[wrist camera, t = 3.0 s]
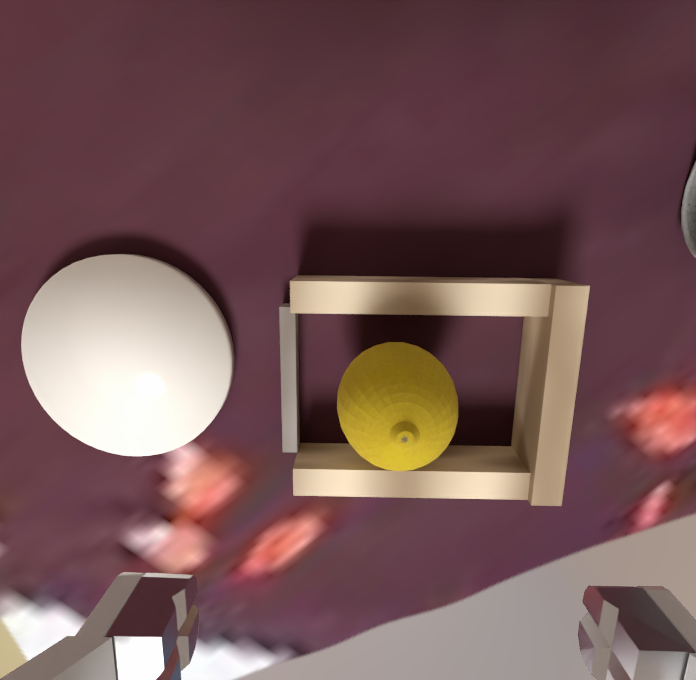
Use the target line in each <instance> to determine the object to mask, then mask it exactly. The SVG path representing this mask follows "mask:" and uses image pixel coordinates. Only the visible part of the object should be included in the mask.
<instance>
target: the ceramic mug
mask: <svg viewBox="0 0 696 680" xmlns="http://www.w3.org/2000/svg"><path fill="white" fill-rule="evenodd" d="M681 228H682V232H683V235H684V239H685V243H686V245H687V247H688V249H689V250H690V252H691V254H692V255H693V256H694V257H695V258H696V161H695V163H694V166H693V168H692V170H691V172H690V175H689V178H688V181H687V184H686V187H685V191H684V195H683V200H682V207H681Z"/></svg>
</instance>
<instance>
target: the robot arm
mask: <svg viewBox="0 0 696 680" xmlns="http://www.w3.org/2000/svg"><path fill="white" fill-rule="evenodd" d="M197 592H198V591H197V580H196V577H195V576H194V575H180V574H161V573H133V572H123V573H121V574H119V575H118V576H117V577H116V578H115V580H114V581H113V582H112V584H111V585H110V587H109V588H108V590H107V591H106V592H105V594H104V595H103V597H102V598H101V600H100V601H99V602H98V604H97V605H96V607H95V608H94V610H93V611H92V613H91V614H90V615H89V617H88V618H87V620H86V621H85V623H84V624H83V625H82V627H81V628H80V630H79V631H78V633H77V634H76V635H75V636H67V637H65V638H64V639H62V640H61V641H59V642H57V643H56V644H54V645H53V646H51V647H50V648H48V649H47V650H45V651H43V652H42V653H40V654H39V655H37V656H36V657H34V658H32V659H31V660H29V661H28V662H26V663H25V664H23V665H21V666H20V667H18V668H17V669H15V670H14V671H12V672H10V673H9V674H7V675H6V676H4V677H3V678H1V679H0V680H181V670H183V669H184V668H185V667H186V666H187V665H188V664H190V661H191V658H192V656H193V653H194V650H195V646H196V641H197V636H198V629H199V610H198V609H197V608H196V606H195V605H194V604H193V601H194V599H195V597H196V594H197ZM583 604H584V605H585V607H586V609H587V610H588V613H587V614H586V615H585V616H584V617H583V618H582V619H581V620H580V622H579V631H578V637H579V645H580V651H581V654H582V656H583V659H584V662H585V664H586V666H587V668H588V670H589V672H590V674H591V675H592V676H594V677H595V678H596V679H597V680H696V620H695V619H694V617H693V616H692V615H691V614H690V613H689V612H688V611H687V610H686V609H685V607H684V606H683V605H682V604H681V603H680V602H679V601H678V600H677V598H676V597H675V596H674V595H673V594H672V593H671V592H670V591H669V590H668V589H666V588H664V587H662V586H637V587H621V586H588V587H587V589H586V590H585V592H584V597H583Z"/></svg>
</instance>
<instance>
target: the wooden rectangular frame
mask: <svg viewBox="0 0 696 680" xmlns="http://www.w3.org/2000/svg"><path fill="white" fill-rule="evenodd" d="M589 289H590V286H588V285H583V284H579V283H574V282H570V281H565V280H561V279H552V278H475V277H397V276H320V275H297V276H296V277H295V278H293V279H292V280H290V303H283V304H282V305H281V306H280V307H279V310H280V355H281V401H282V446H283V452H297V455H296V459H295V463H294V467H293V495H296V496H351V497H406V498H461V499H516V500H528V501H529V503H530V504H531V505H540V506H561V505H562V498H563V490H564V482H565V474H566V467H567V459H568V451H569V444H570V436H571V428H572V420H573V413H574V405H575V397H576V390H577V382H578V374H579V366H580V359H581V351H582V343H583V336H584V328H585V320H586V312H587V305H588V297H589ZM298 313H318V314H390V315H463V316H524V320H523V330H522V340H521V350H520V360H519V370H518V380H517V391H516V401H515V411H514V421H513V431H512V441H511V446H464V445H448V446H447V448H446V449H445V450H444V451H443V452H442V453H441V454H440V456H439V457H438V458H436V459H435V460H433V461H432V462H430V463H429V464H427V465H425V466H422V467H420V468H417V469H414V470H407V471H393V470H386V469H383V468H380V467H378V466H375V465H373V464H371V463H370V462H368V461H367V460H365V459H364V458H362V457H361V456H360V455H359V454H358V453H357V452H356V450H355V449H354V448H353V447H352V446H351V445H350V444H346V443H300V416H299V339H298Z"/></svg>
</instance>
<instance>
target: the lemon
mask: <svg viewBox="0 0 696 680" xmlns="http://www.w3.org/2000/svg"><path fill="white" fill-rule="evenodd" d="M337 412H338V416H339V421H340V425H341V428H342V430H343V432H344V434H345V436H346V438H347V440H348V442H349V443H350V445H351V446H352V447H353V448H354V449H355V450H356V452H357V453H358V454H359V455H360V456H361V457H362V458H364V459H365V460H367V461H368V462H370V463H371V464H373V465H375V466H378V467H380V468H383V469H386V470H393V471H407V470H414V469H417V468H420V467H422V466H425V465H427V464H429V463H430V462H432V461H433V460H435V459H436V458H438V457H439V456H440V454H441V453H442V452H443V451H444V450H445V449H446V448H447V446H448V444H449V443H450V441H451V439H452V437H453V435H454V432H455V429H456V425H457V421H458V397H457V394H456V390H455V387H454V383H453V381H452V378H451V377H450V375H449V374H448V372H447V370H446V369H445V367H444V366H443V364H442V363H441V362H440V361H438V360H437V359H436V358H435V357H434V356H433V355H432V354H431V353H429V352H427V351H426V350H424V349H422V348H420V347H418V346H416V345H412V344H408V343H404V342H387V343H383V344H379V345H375V346H373V347H371V348H369V349H367V350H365V351H364V352H362V353H361V354H360V355H359V356H358V357H356V358H355V359H354V360H353V361H352V362H351V364H350V365H349V367H348V368H347V370H346V371H345V373H344V374H343V377H342V380H341V383H340V386H339V389H338V396H337Z"/></svg>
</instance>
